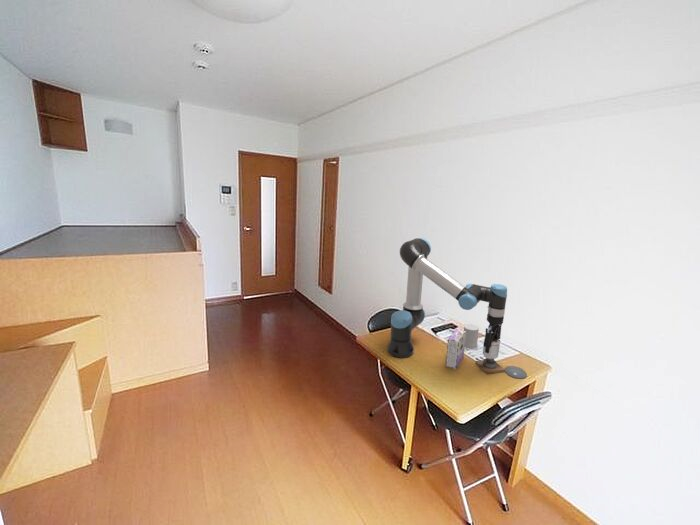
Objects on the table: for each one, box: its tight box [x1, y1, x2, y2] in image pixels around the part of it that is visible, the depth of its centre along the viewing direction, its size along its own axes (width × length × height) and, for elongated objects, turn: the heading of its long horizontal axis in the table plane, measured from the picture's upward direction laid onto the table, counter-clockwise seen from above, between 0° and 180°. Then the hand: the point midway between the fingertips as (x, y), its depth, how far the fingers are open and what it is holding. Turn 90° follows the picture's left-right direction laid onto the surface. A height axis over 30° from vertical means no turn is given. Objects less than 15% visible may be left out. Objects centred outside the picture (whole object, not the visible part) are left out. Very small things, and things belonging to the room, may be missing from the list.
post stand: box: [475, 357, 505, 375], centre depth 161 cm, size 10×10×10 cm
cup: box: [463, 323, 480, 350], centre depth 183 cm, size 8×8×12 cm
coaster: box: [504, 365, 528, 380], centre depth 157 cm, size 10×10×1 cm
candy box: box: [445, 328, 466, 370], centre depth 166 cm, size 14×6×16 cm, turn 145°
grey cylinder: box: [482, 337, 501, 360], centre depth 159 cm, size 7×7×9 cm
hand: (490, 354), depth 160 cm, fingers closed on grey cylinder, 7 cm apart
